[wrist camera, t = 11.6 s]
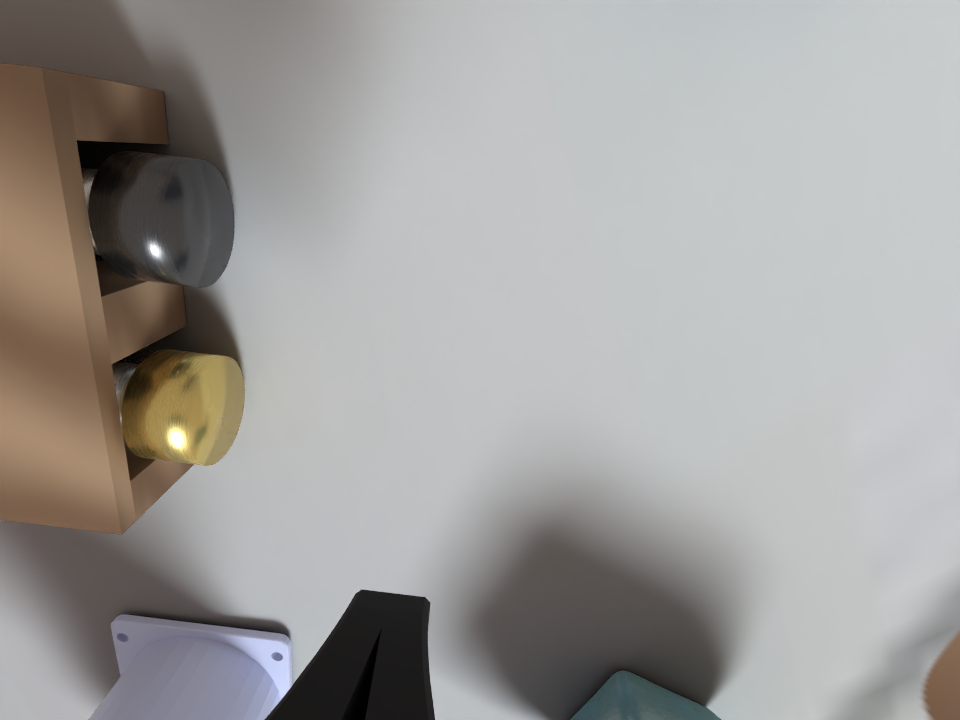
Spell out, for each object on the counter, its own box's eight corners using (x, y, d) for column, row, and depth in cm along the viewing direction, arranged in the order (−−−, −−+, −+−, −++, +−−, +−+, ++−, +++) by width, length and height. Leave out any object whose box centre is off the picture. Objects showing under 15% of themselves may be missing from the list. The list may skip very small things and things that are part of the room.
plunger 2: (247, 431, 20) (193, 487, 16) (-11, 401, 20) (-117, 450, 16) (241, 341, 18) (182, 382, 15) (-35, 309, 19) (-155, 342, 15)
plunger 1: (237, 273, 18) (173, 301, 14) (-52, 240, 18) (-183, 259, 14) (230, 158, 16) (158, 158, 13) (-82, 123, 16) (-234, 114, 13)
